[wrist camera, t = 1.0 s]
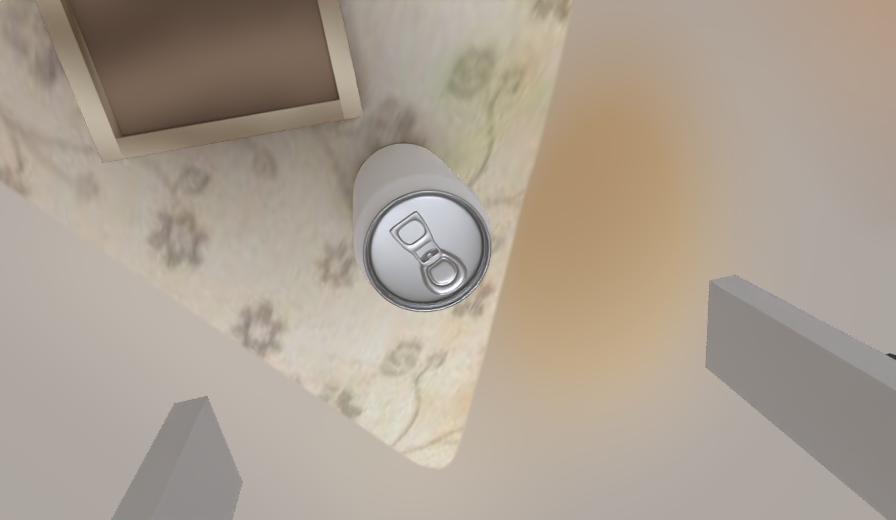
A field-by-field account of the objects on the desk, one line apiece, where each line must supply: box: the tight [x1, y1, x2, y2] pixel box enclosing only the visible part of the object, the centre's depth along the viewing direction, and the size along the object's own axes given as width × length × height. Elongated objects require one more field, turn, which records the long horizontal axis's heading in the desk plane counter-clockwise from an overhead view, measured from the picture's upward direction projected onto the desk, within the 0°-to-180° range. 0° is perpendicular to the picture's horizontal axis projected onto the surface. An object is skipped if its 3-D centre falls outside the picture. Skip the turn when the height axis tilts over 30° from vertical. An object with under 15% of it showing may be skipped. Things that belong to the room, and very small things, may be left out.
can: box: [353, 143, 491, 312], centre depth 27 cm, size 6×6×12 cm
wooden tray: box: [35, 0, 363, 163], centre depth 25 cm, size 13×13×5 cm
